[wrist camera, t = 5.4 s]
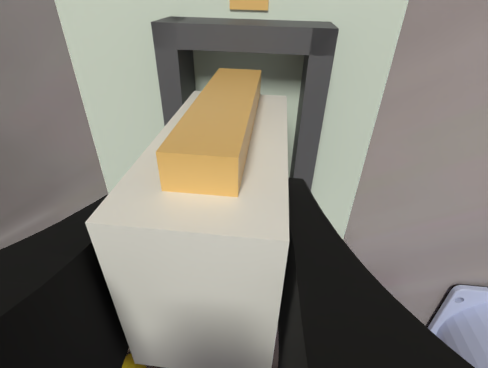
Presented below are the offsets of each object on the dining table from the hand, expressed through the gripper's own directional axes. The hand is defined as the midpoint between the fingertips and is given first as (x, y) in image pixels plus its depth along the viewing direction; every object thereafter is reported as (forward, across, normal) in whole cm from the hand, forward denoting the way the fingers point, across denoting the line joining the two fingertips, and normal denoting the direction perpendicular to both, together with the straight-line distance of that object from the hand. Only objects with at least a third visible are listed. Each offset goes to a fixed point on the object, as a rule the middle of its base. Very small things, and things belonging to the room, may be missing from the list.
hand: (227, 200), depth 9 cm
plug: (+3, 0, 0) cm, 3 cm away
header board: (+6, +1, +2) cm, 7 cm away
